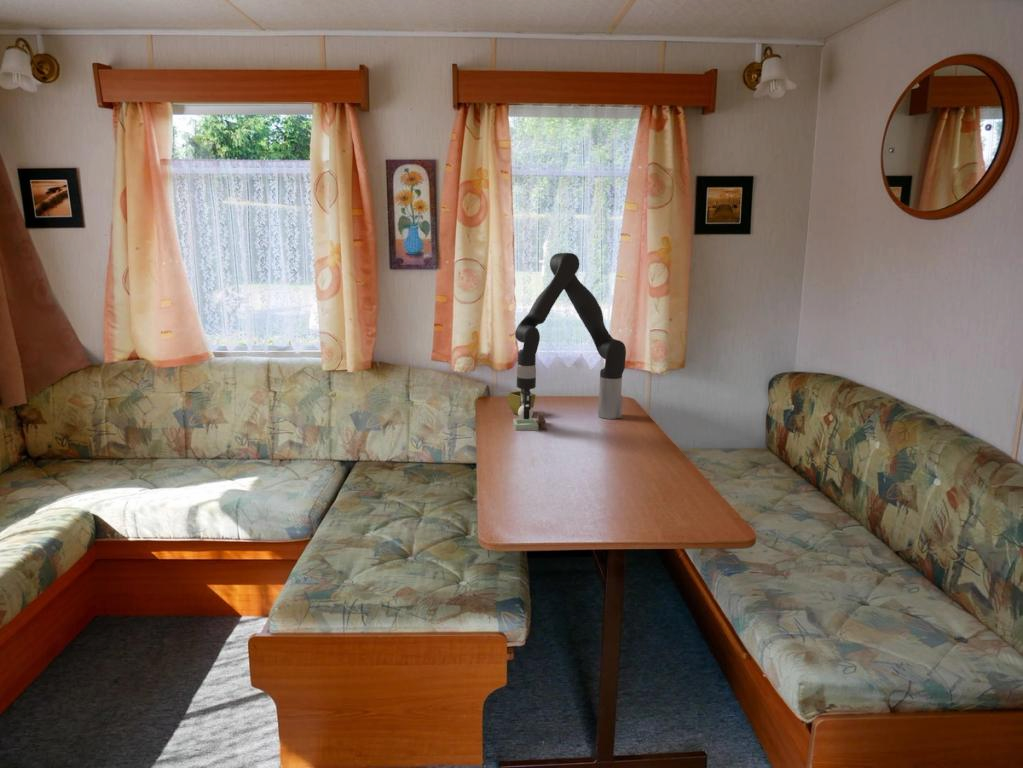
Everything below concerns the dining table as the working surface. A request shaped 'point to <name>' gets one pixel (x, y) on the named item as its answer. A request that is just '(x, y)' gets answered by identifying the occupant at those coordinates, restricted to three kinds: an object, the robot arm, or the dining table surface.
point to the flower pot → (518, 401)
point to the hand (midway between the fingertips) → (525, 416)
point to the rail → (541, 422)
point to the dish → (525, 424)
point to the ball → (521, 412)
